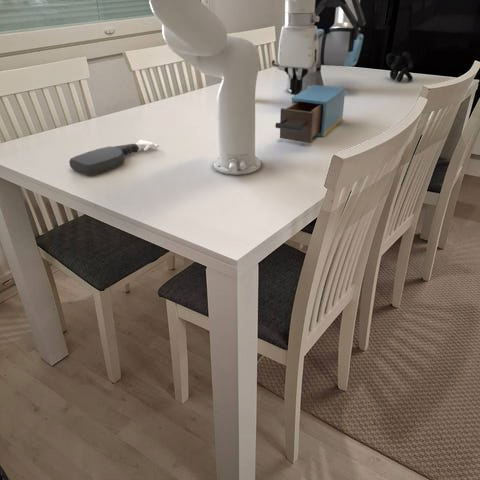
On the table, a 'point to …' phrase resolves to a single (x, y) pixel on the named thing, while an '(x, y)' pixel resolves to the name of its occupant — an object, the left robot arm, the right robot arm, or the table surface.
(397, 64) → the squiggle
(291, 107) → the drawer
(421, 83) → the table surface
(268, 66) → the table surface
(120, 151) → the spray bottle
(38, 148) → the table surface
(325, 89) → the cabinet
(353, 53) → the right robot arm
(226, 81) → the left robot arm
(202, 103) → the table surface
